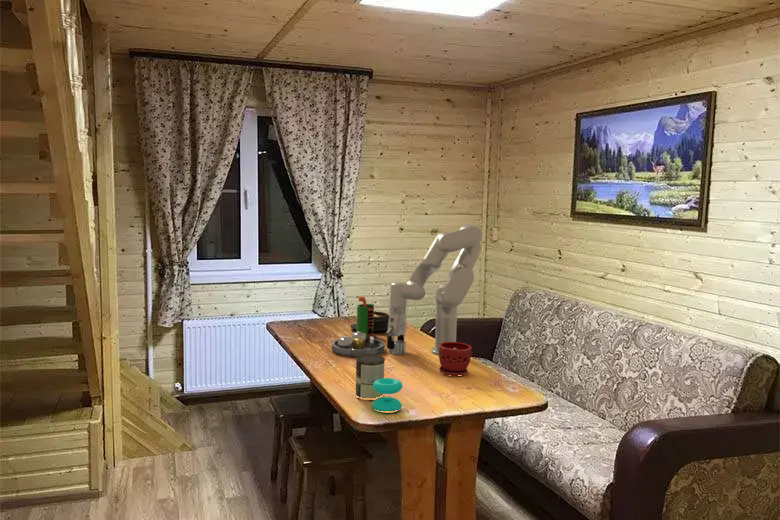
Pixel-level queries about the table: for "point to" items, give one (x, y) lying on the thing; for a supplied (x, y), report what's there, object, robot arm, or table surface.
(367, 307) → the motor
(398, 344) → the planet gear
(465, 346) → the plant pot
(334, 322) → the table surface
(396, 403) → the donuts
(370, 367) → the coffee can
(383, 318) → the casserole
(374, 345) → the carrier
